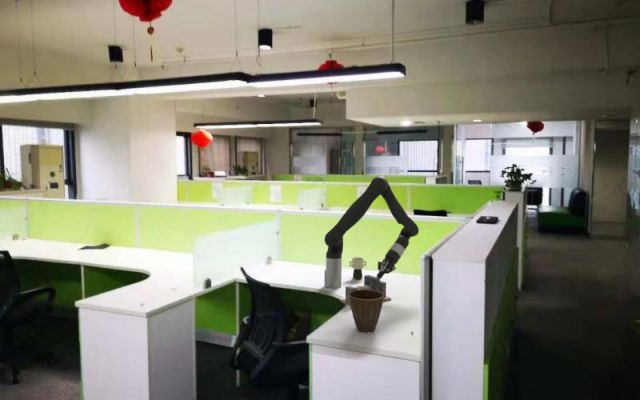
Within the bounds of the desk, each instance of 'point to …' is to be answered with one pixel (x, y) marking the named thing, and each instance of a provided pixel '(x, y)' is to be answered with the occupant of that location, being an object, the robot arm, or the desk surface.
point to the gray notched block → (372, 282)
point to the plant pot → (366, 309)
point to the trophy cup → (357, 267)
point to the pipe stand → (366, 287)
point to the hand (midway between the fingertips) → (378, 278)
